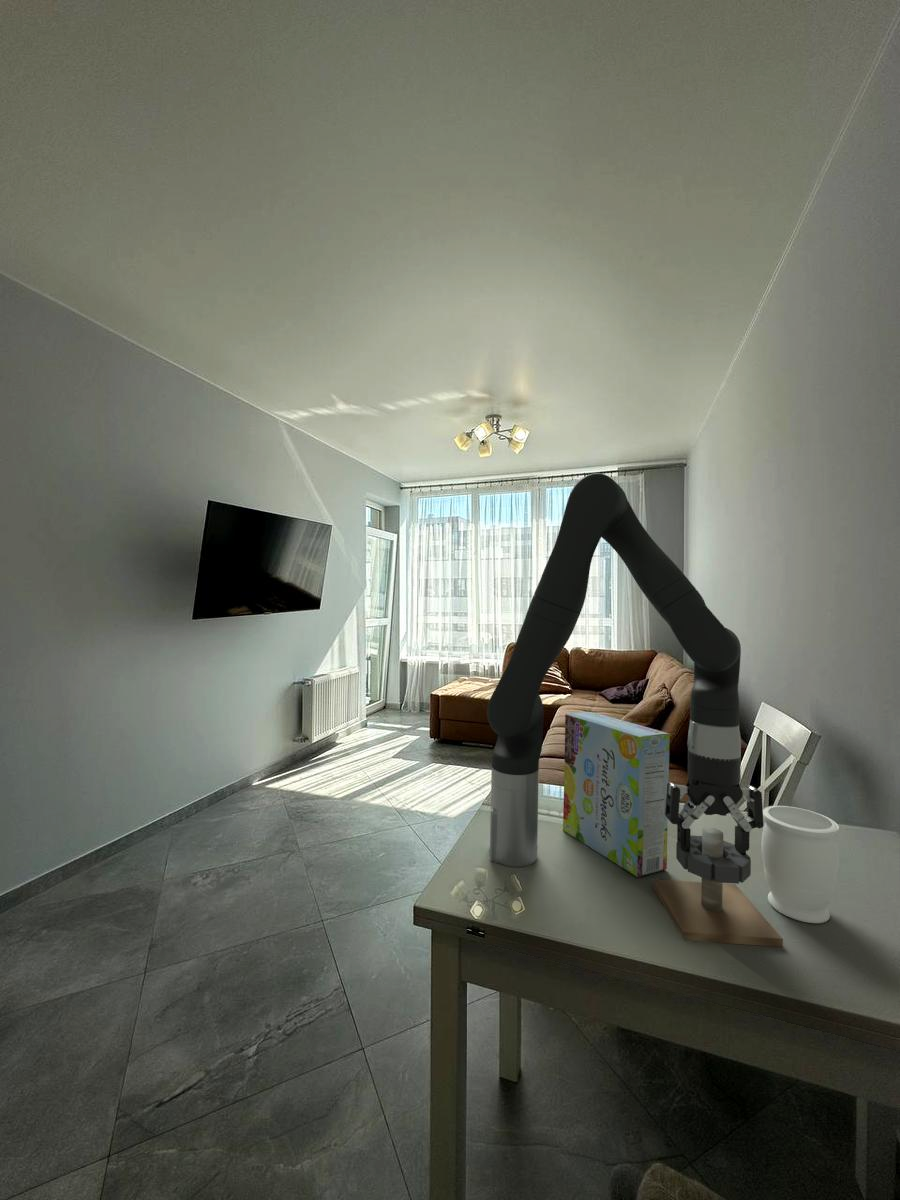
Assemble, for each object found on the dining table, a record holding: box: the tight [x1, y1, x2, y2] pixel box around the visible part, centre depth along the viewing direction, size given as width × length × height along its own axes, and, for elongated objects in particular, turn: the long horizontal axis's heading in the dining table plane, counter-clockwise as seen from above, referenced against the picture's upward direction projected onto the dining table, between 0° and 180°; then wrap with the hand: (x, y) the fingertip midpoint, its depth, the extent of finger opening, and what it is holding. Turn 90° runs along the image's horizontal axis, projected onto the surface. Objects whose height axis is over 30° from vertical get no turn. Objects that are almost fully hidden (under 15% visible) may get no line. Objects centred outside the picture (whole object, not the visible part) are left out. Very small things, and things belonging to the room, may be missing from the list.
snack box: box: [562, 711, 671, 878], centre depth 101 cm, size 22×9×26 cm, turn 26°
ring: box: [675, 834, 752, 885], centre depth 80 cm, size 10×10×2 cm
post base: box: [652, 827, 784, 948], centre depth 80 cm, size 14×14×13 cm
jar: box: [760, 805, 840, 924], centre depth 81 cm, size 11×10×15 cm
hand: (712, 850), depth 80 cm, fingers open, 8 cm apart
